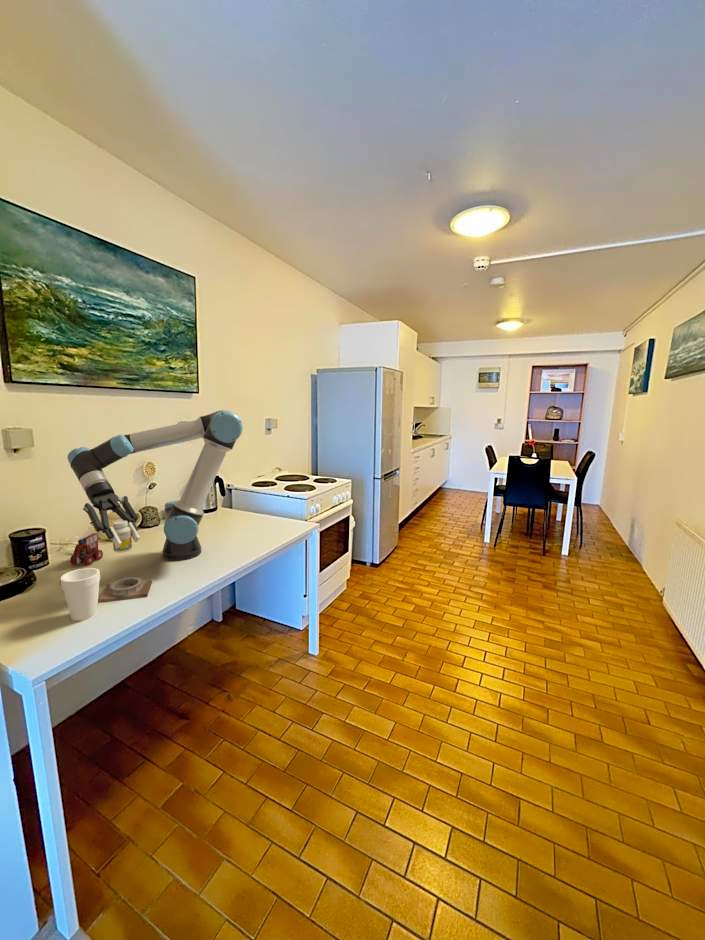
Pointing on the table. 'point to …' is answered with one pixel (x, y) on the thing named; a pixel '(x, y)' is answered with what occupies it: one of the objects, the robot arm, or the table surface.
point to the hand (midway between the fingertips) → (128, 542)
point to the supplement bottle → (123, 536)
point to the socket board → (125, 589)
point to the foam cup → (81, 592)
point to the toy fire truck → (86, 551)
